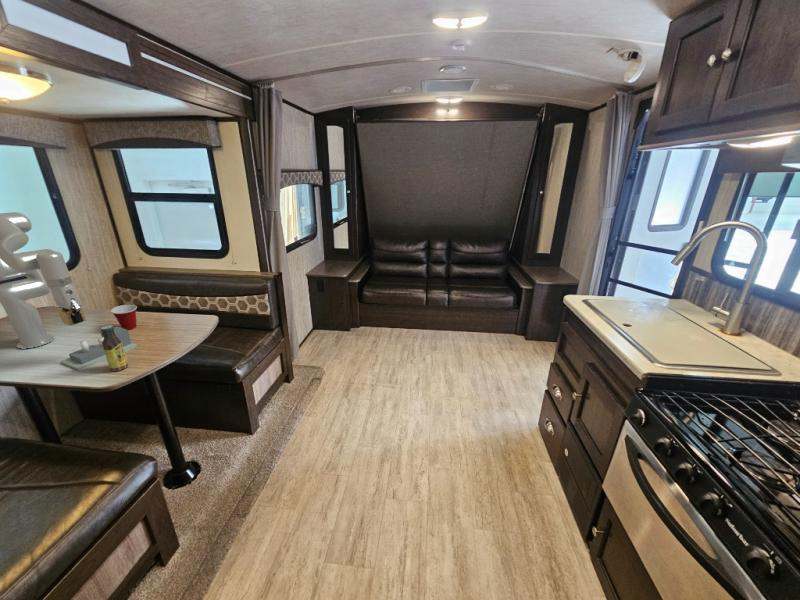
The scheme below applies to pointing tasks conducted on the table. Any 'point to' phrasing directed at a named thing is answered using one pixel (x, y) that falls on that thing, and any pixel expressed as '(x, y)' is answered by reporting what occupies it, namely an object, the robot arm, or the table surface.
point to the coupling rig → (96, 351)
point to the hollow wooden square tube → (69, 316)
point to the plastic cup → (126, 316)
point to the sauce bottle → (113, 349)
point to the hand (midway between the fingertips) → (74, 320)
